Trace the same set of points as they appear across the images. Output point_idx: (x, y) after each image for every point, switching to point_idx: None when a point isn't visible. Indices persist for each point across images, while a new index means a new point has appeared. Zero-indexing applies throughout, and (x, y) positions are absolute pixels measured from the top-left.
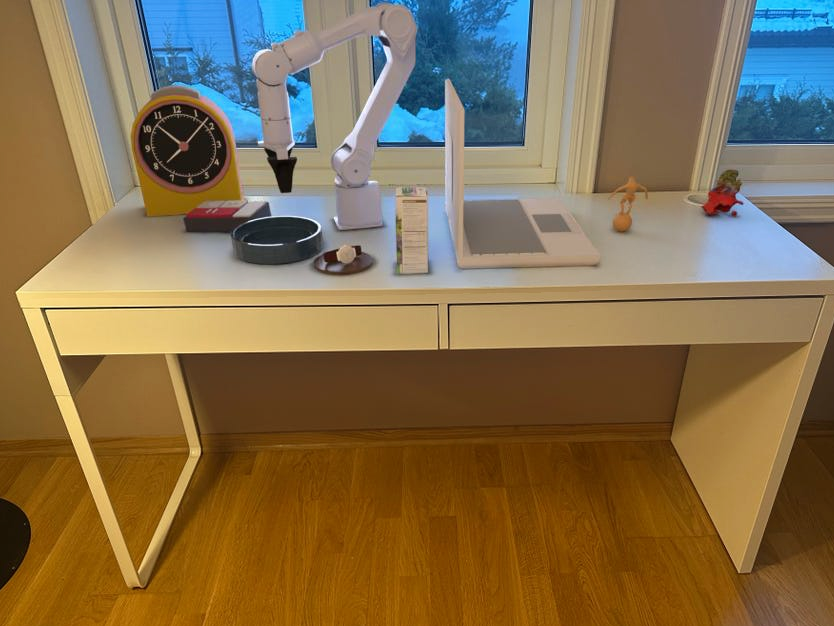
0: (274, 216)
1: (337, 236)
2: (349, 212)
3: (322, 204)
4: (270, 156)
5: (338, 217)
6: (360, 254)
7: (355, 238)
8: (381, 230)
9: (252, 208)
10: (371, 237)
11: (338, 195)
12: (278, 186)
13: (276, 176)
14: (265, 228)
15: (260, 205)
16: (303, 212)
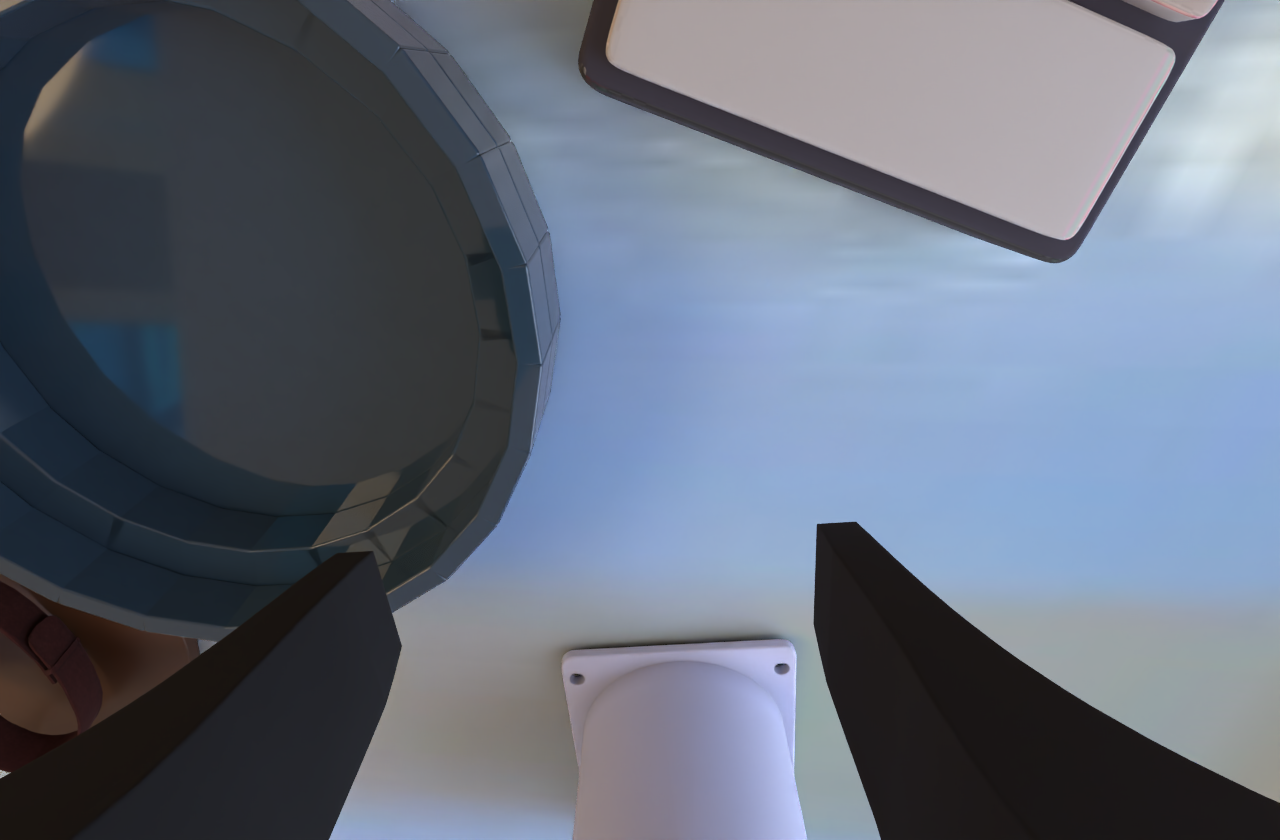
0: (528, 327)
1: (475, 631)
2: (580, 790)
3: (1156, 593)
4: (987, 827)
5: (654, 696)
6: (31, 735)
7: (431, 705)
8: (542, 811)
9: (851, 93)
10: (440, 766)
11: None
12: (279, 595)
13: (123, 715)
14: (454, 217)
15: (927, 184)
16: (1032, 472)
